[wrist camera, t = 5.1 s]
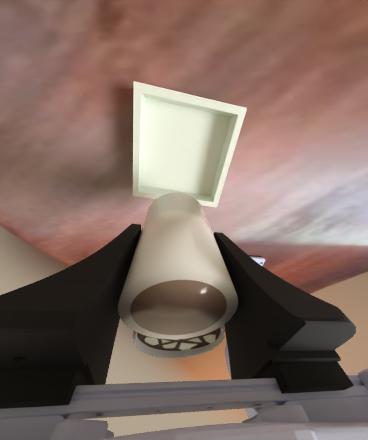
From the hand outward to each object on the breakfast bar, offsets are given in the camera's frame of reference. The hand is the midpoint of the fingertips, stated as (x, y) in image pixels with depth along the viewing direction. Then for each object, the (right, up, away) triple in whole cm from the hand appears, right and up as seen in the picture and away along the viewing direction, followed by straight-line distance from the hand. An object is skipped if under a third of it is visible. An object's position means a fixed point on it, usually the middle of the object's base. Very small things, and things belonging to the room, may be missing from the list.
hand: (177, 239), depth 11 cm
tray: (0, +9, +6) cm, 11 cm away
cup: (0, +1, +3) cm, 3 cm away
